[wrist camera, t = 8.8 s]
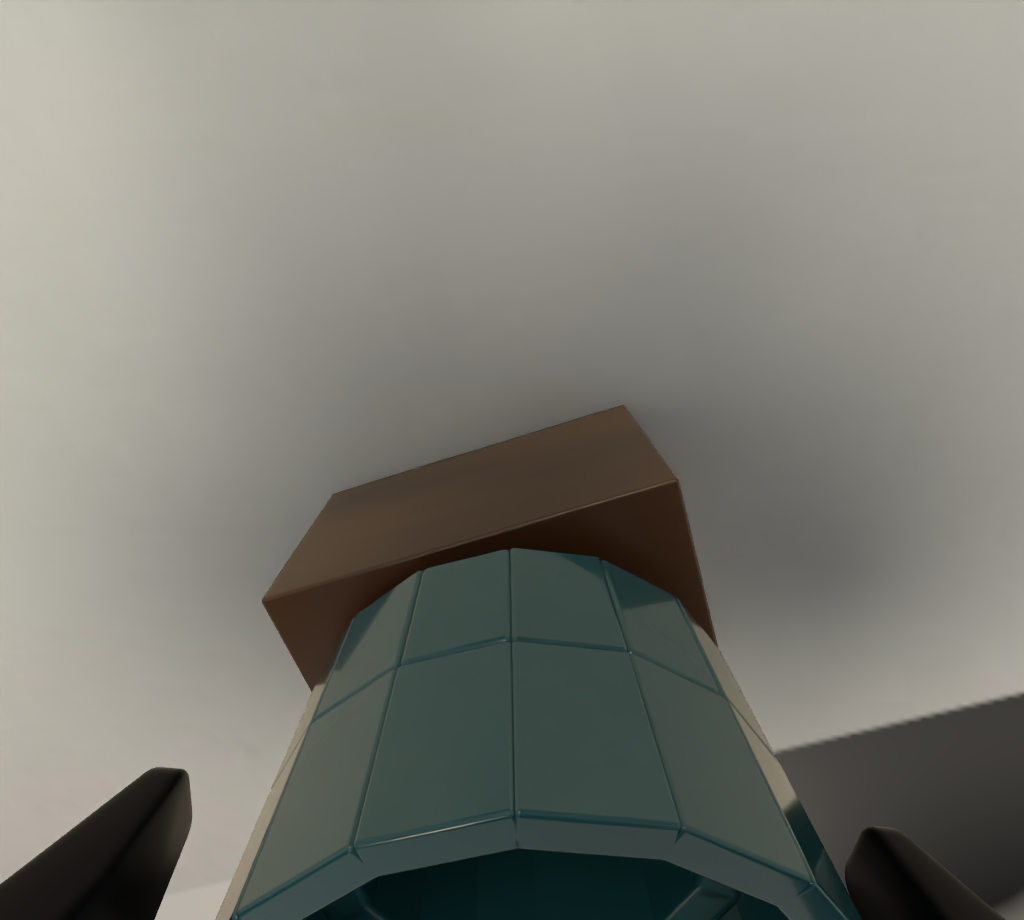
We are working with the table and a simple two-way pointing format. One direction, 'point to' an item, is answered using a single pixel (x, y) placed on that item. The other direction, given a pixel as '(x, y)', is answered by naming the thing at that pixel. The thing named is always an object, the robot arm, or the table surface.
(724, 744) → the bowl
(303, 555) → the stand
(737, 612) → the table surface
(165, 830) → the robot arm
